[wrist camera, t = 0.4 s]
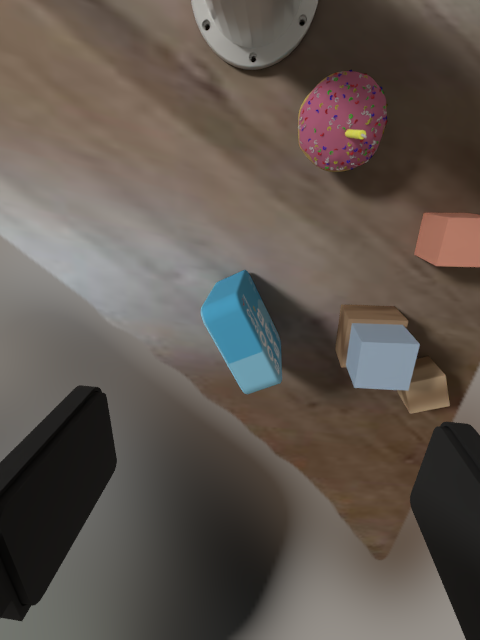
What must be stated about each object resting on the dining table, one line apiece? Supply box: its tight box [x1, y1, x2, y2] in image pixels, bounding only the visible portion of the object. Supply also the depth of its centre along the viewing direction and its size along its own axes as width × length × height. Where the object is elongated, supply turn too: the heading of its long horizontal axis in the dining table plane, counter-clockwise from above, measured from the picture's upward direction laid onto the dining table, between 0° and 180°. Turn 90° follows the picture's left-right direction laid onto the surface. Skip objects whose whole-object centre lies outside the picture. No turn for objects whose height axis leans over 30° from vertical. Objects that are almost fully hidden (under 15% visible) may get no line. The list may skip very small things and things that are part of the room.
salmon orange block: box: [414, 213, 480, 267], centre depth 35 cm, size 5×5×6 cm
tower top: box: [346, 323, 420, 391], centre depth 37 cm, size 6×6×5 cm
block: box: [397, 356, 450, 414], centre depth 44 cm, size 5×5×5 cm
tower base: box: [335, 305, 408, 368], centre depth 42 cm, size 7×7×5 cm
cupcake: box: [298, 70, 387, 172], centre depth 30 cm, size 9×8×12 cm
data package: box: [201, 270, 282, 394], centre depth 39 cm, size 12×4×12 cm, turn 26°
